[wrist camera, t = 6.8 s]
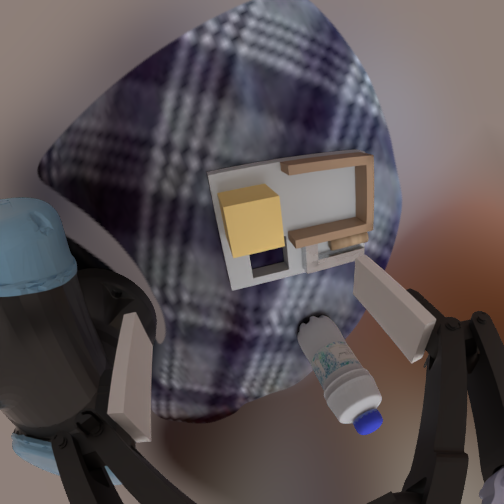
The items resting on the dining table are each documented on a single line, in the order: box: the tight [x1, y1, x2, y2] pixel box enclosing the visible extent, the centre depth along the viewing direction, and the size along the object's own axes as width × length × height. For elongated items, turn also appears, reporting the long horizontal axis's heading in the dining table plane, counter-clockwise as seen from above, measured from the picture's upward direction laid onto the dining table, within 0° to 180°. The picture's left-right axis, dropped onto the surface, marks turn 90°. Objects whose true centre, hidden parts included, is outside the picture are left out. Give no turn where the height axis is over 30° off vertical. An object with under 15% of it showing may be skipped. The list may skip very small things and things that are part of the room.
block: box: [217, 184, 285, 258], centre depth 27 cm, size 5×5×5 cm
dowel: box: [328, 232, 368, 251], centre depth 33 cm, size 5×2×2 cm, turn 98°
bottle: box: [297, 315, 383, 435], centre depth 34 cm, size 7×7×20 cm
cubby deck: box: [207, 149, 374, 291], centre depth 31 cm, size 18×14×4 cm
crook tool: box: [301, 244, 364, 274], centre depth 33 cm, size 8×4×2 cm, turn 98°
